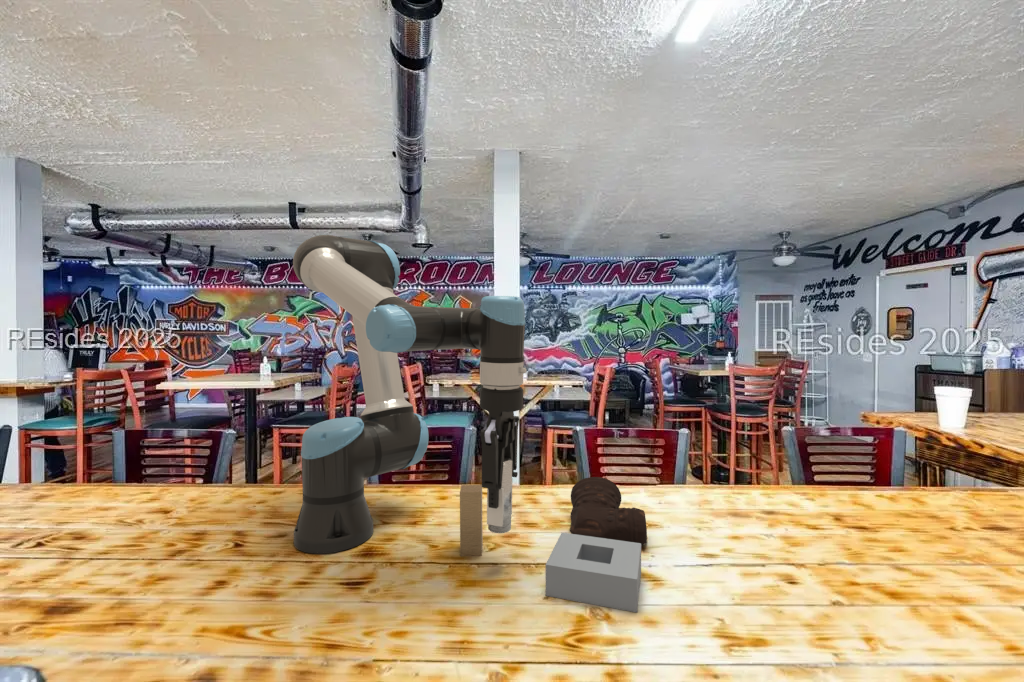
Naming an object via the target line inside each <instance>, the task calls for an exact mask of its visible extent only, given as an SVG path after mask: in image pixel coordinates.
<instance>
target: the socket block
mask: <svg viewBox="0 0 1024 682" xmlns="http://www.w3.org/2000/svg"><path fill="white" fill-rule="evenodd" d="M641 578H642V545H641V543H635V542H628V541H620V540H613V539H606V538H599V537H591V536H584V535H577V534H572V533H571V532H561V533H560V535H559V537H558V538H557V541H556V543H555V544H554V547H553V549H552V550H551V553H550V555H549V557H548V559H547V560H546V562H545V596H547V597H551V598H556V599H562V600H567V601H572V602H573V601H574V602H577V603H578V602H579V603H584V604H589V605H594V606H595V605H596V606H599V607H606V608H610V609H615V610H622V611H628V612H632V613H633V612H634V613H638V606H639V599H640V598H639V597H640V587H641Z"/></svg>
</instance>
